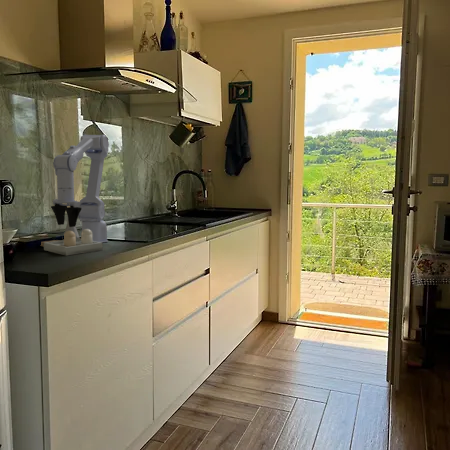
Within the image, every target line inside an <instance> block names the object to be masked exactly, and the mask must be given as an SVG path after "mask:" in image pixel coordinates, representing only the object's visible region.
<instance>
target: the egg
mask: <svg viewBox="0 0 450 450" xmlns="http://www.w3.org/2000/svg"><path fill="white" fill-rule="evenodd" d="M64 232H65V231H64ZM63 235H64V239H63V240H64V246H65V247H71V246H76V235H75V233H74V232H73V231H67V232H65V234H64V233H63Z"/></svg>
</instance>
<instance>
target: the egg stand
mask: <svg viewBox="0 0 450 450" xmlns="http://www.w3.org/2000/svg"><path fill="white" fill-rule="evenodd" d="M52 241H60V240H58V239H56V240H55V239H53V240H45V241H41V245H40V247H43V248H44V242H52Z"/></svg>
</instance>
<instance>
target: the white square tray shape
mask: <svg viewBox="0 0 450 450" xmlns="http://www.w3.org/2000/svg"><path fill="white" fill-rule="evenodd" d="M51 241H52V242H45V241H43V242H44V247H43V250H44V251H46V252H47V251H48V252H50V253H54V254H58V255H62V256H66V257H67V256H74V255H79V254H86V253H93V252H100V251H103V243H104V242H102V243H101V242H96V241H93V239H92V231H91V230H90V229H84V230H83V231H82V230H81V234H80V238H77V239H76V246H71V247H65V246H64V239H62V240H59V241H53V240H51Z"/></svg>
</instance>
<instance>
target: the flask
mask: <svg viewBox="0 0 450 450" xmlns="http://www.w3.org/2000/svg"><path fill="white" fill-rule="evenodd" d="M66 217H67V218H68V215H67V214H66ZM67 231H73V232H74V233H75V235H76V239H77V238H81V236H80V234H79V232H78V229H77V226H75V227H69V222H68V220H67V221H66V227H65V230H64V233H63V235H64V234H65V232H67Z"/></svg>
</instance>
